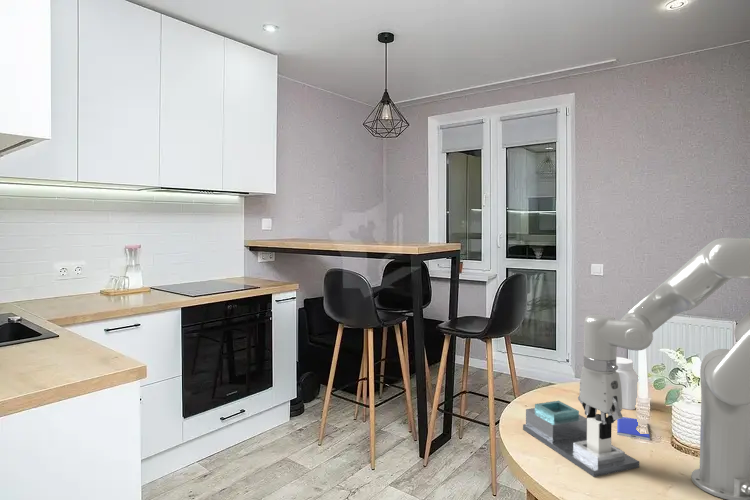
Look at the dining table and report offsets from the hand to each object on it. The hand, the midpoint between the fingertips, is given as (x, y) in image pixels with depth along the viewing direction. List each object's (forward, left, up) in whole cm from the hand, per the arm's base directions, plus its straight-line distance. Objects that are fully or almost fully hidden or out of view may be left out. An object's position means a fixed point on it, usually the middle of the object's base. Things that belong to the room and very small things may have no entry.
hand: (598, 433), depth 119 cm
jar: (+29, -36, -7) cm, 47 cm away
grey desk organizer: (+8, 0, -7) cm, 11 cm away
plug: (0, 0, -4) cm, 4 cm away
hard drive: (+12, -24, -8) cm, 28 cm away
